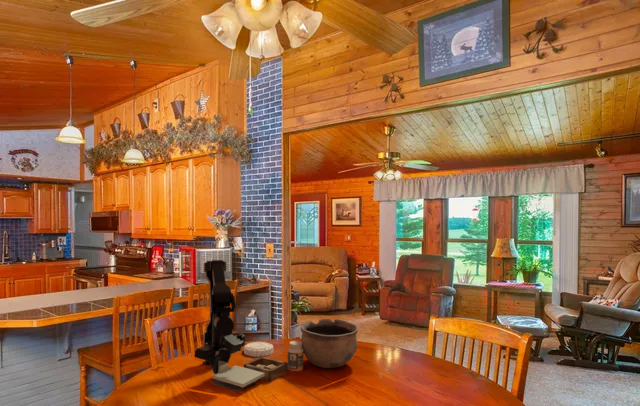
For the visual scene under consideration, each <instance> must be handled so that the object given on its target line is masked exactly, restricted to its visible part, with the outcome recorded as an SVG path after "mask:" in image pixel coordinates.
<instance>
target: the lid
mask: <svg viewBox="0 0 640 406" xmlns="http://www.w3.org/2000/svg"><path fill="white" fill-rule="evenodd" d="M211 370H212V369H211ZM211 373H214V372H213V370H212V372H211ZM264 376H265V373H263V372H259V371H255V370H251V369H248V368H244V366H240V365H234V366H231V367H229V362H224V361H219V363H218V373H217V374H212V379H214V380H220V381H222V382H227V383H230V384H233V385H237V386H240V387H242V388H243V387H245V386H247V385H249V384H250V383H252V382H254V381H258V380H259V379H260V378H262V377H264ZM260 380H261V379H260ZM249 386H250V385H249ZM247 387H248V386H247ZM245 388H246V387H245ZM243 389H244V388H243Z"/></svg>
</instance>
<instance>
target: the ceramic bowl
mask: <svg viewBox="0 0 640 406" xmlns="http://www.w3.org/2000/svg"><path fill="white" fill-rule="evenodd" d="M299 327H300V331H301V333H302V334H301V338H300V342H302V347H301V348H302V349H303V355H304V356H305V358H306V359H307V360H308V361H309V362H310V363H311V364H312V365H314V366H315V367H319V368H322V369H333V368H334V369H336V368H340V367H342V366H344V365H346V364H347V363H348V362H349V361H350V360H352V358H353V356H354V355H355V354H356V352H357V348H358V339H357V333H358V331H359V327H358V325H357V324H355V323H353V322H349V321H347V320H342V319H338V318H337V319H334V320H331V318H322V319H321V318H320V319H319V320H318V322H317V323H315V322H313V321H312V320H308V321H305V322H302V323H301V325H300V326H299Z"/></svg>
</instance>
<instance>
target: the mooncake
mask: <svg viewBox="0 0 640 406" xmlns="http://www.w3.org/2000/svg"><path fill="white" fill-rule="evenodd" d="M243 352H244V355H245V356H248V357H252V358H253V357H257V358H259V357H266V356H267V357H268V356H270V355H272V354H273V353H274V345H273V344H271V343H268V342H266V341H252V342H249V343H247V344H245V345H244V346H243Z"/></svg>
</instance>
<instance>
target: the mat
mask: <svg viewBox="0 0 640 406" xmlns="http://www.w3.org/2000/svg"><path fill="white" fill-rule="evenodd" d="M257 382H258V380H256V381H254V382H252V383H250V384H249V385H247V386H245V387H243V388H242V387H240V386H237V385H233V384H230V383H227V382H222V381H220V380H217V379H215V381H214V380H213V381H212V382H210V384H211V385H215V386H218V387H221V388H224V389H227V390H232V391H235V392H239V391H242V390H243V389H245V388H247V387H249V386H251V385H253V384H255V383H257Z"/></svg>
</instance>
